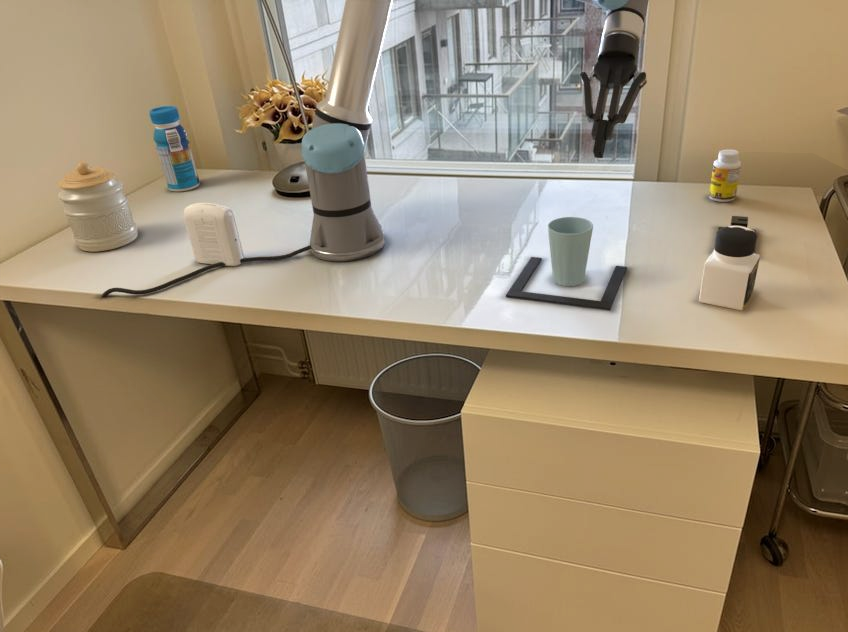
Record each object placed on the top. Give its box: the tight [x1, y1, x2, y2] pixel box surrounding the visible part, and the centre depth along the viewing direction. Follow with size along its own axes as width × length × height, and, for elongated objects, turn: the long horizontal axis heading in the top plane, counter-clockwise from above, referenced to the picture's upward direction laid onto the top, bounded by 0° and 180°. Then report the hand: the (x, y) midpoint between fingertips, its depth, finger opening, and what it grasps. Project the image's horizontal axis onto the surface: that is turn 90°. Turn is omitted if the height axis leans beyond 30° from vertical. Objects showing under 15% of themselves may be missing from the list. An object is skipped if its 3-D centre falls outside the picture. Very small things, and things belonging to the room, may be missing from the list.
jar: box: [57, 161, 139, 252], centre depth 151 cm, size 13×13×18 cm
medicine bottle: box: [698, 225, 761, 311], centre depth 113 cm, size 7×7×12 cm
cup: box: [547, 216, 594, 287], centre depth 123 cm, size 8×8×10 cm
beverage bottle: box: [148, 105, 201, 193], centre depth 179 cm, size 8×8×20 cm
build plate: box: [717, 215, 757, 254], centre depth 133 cm, size 12×7×5 cm, turn 159°
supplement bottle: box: [708, 148, 742, 203], centre depth 150 cm, size 6×6×10 cm
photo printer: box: [183, 202, 245, 267], centre depth 139 cm, size 10×4×12 cm, turn 73°
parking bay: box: [505, 256, 628, 311], centre depth 124 cm, size 16×18×1 cm
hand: (597, 154), depth 134 cm, fingers closed
